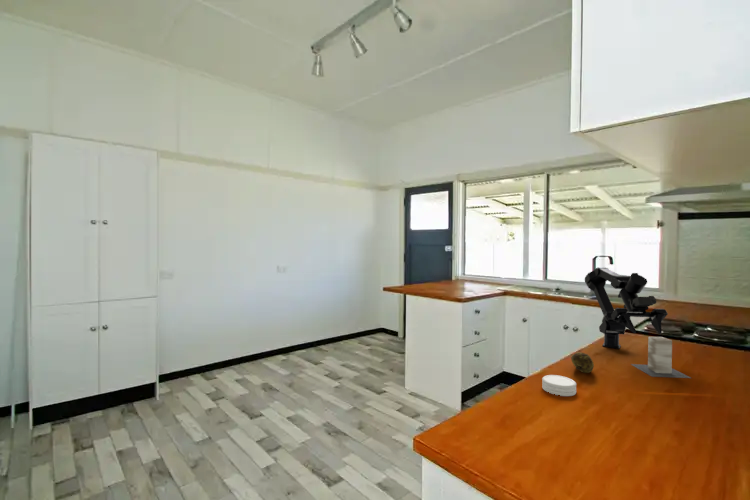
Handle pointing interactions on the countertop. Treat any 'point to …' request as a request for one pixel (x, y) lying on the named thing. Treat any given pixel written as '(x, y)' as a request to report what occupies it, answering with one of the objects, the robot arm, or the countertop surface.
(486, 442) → the countertop surface
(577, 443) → the countertop surface
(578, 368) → the potato
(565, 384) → the coaster
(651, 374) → the rubber mat
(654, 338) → the tall block
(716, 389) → the countertop surface
